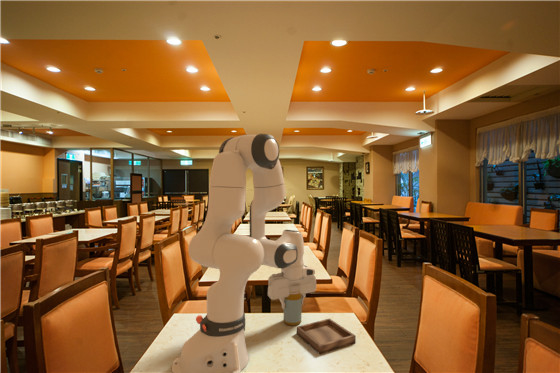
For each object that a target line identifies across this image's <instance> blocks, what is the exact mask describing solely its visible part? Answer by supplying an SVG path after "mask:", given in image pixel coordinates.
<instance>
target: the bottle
mask: <svg viewBox="0 0 560 373" xmlns="http://www.w3.org/2000/svg"><path fill="white" fill-rule="evenodd" d="M289 294H290V295H289V296H288V297H285V300H283V301H284V303H285V304H286V308H285V309H283V322H284V324H286V325H288V326H292V327H293V326H298V325H299V324H301V322H302V305H301V293H300V284H298V285H293V286H289Z"/></svg>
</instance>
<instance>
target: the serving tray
mask: <svg viewBox="0 0 560 373" xmlns="http://www.w3.org/2000/svg"><path fill="white" fill-rule="evenodd" d="M296 335H297V336H299V337H300V338H301V340H303V341H304V342H306V343H307V345H309V346H310V347H311V348H312V349H313V350H315V351H316V352H317V353H318V354H319V355H321V354H325V353H329V352H331V351H334V350H338V349H341V348H345V347H347V346H350V345H354V344H356V341H357V340H356V335H355V334H354V333H353V332H351V331H349V330H348V329H347V328H345V327H344V326H341V325H340V324H338V323H337V322H336V321H335V320H333V319H331V318H325V319H322V320H318V321H314V322H311V323H307V324H302V325H299V326H298V325H297V326H296Z"/></svg>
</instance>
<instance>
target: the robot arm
mask: <svg viewBox="0 0 560 373" xmlns="http://www.w3.org/2000/svg"><path fill="white" fill-rule="evenodd" d="M218 150H219V151H218V154H216V155H215V157H214V158H213V160H212V161H213V163H212V166H211V170H210V176H209V177H210V178H209V190H208V205H207V206H208V207H207V213H206V216H205V221H204V222H203V224H202V227H201V228H200V230H199V231H198V232H197V233H196V234H195V235H194V236H193V237H192V238H191V239H190V242H189V245H188V256H189V258H190V259H191V260H192V261H193V262H195V263H197V264H198V265H200V266H202V267H204V268H211V269H216V270H219V276H218V280H217V281H216V282H214V283H212V284H211V285H210V286H209V288H208V289H207V292H206V315H205V316H202V315H201V314H200V315H196V317H195V321H196V322H197V324H198V325H199V329H198V330H197V331H196V332H195V333H194V334H192V336H191V337H190V338H188V339H187V340H186V341H185V342H184V343H183V345H182V347H181V350H180V355H179V356H178V357H176V358H175V359H174V360H173V361H172V365H171V373H242V370H243V369H244V368H246V367H247V365H248V364H249V363H250V362H249V361H250V356H249V353H248V350H247V345H246V338H245V337H246V336H245V335H246V334H245V331H246V312H244V308H245V307H244V303H245V290H246V286H247V283H248V281H249V278H250V277H251V276H252V275H253V274H254V273H255V272H256V271H258V270H259V269H260V267H261V266H267V267H269V268H276V269H280V270H281V271H280V272H278V273H273V274H271V275H270V276H269V277H268V280H267V281H268V282H267V283H268V285H267V286H268V287H267V296H268V297H269V299H270V300H272V301H274V300H279V301H280V303H281V308H282V310H284V309H285V308H286V304H285V303H284V300H285V297H288V296H289V295H290V294H289V286H293V285H298V284H300V293H301V306H303V305H304V300H305V298H306V294H310V293H314V292H316V291H317V278H316V276H315V274H316V270H315V269H314V268H312V267H310V266H309V265H305V261H304V253H305V245H304V244H305V242H304V237H303V234H302V232H301V231H299V230H291V229H283V231H282V234H281V236H280V237H279V238H278V239H276V240H273V239H272V240H271V239H268V238H267V237H266V229H265V228H266V216H267V214H268V213H269V212H271V211H273V210H275V209H277V208H279V207H280V206H281V205H282V203H283V202H284V200H285V198H286V186H285V178H284V172H283V168H282V165H281V162H280V158H279V157H280V146H279V143H278V141H277V140H276V138H275V137H274V136H273V135H272V134H267V133H259V134H258V133H257V134H243V135H238V136H236V137H230V138H227V139H225V140H224V141H223V142H222V143H221V144H220V147H219V149H218ZM248 170H251V172H252V184H253V197H252V198H253V199H252V200H251V203H250V206H249V235H246V234H237V233H232V232H231V231H232V228H233V226H234V223H235V222H236V221H238V220H239V219H241V218H242V217H243V216H244V215H245V211H246V193H247V192H246V191H247V176H246V175H247V174H246V173H247V171H248Z"/></svg>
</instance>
